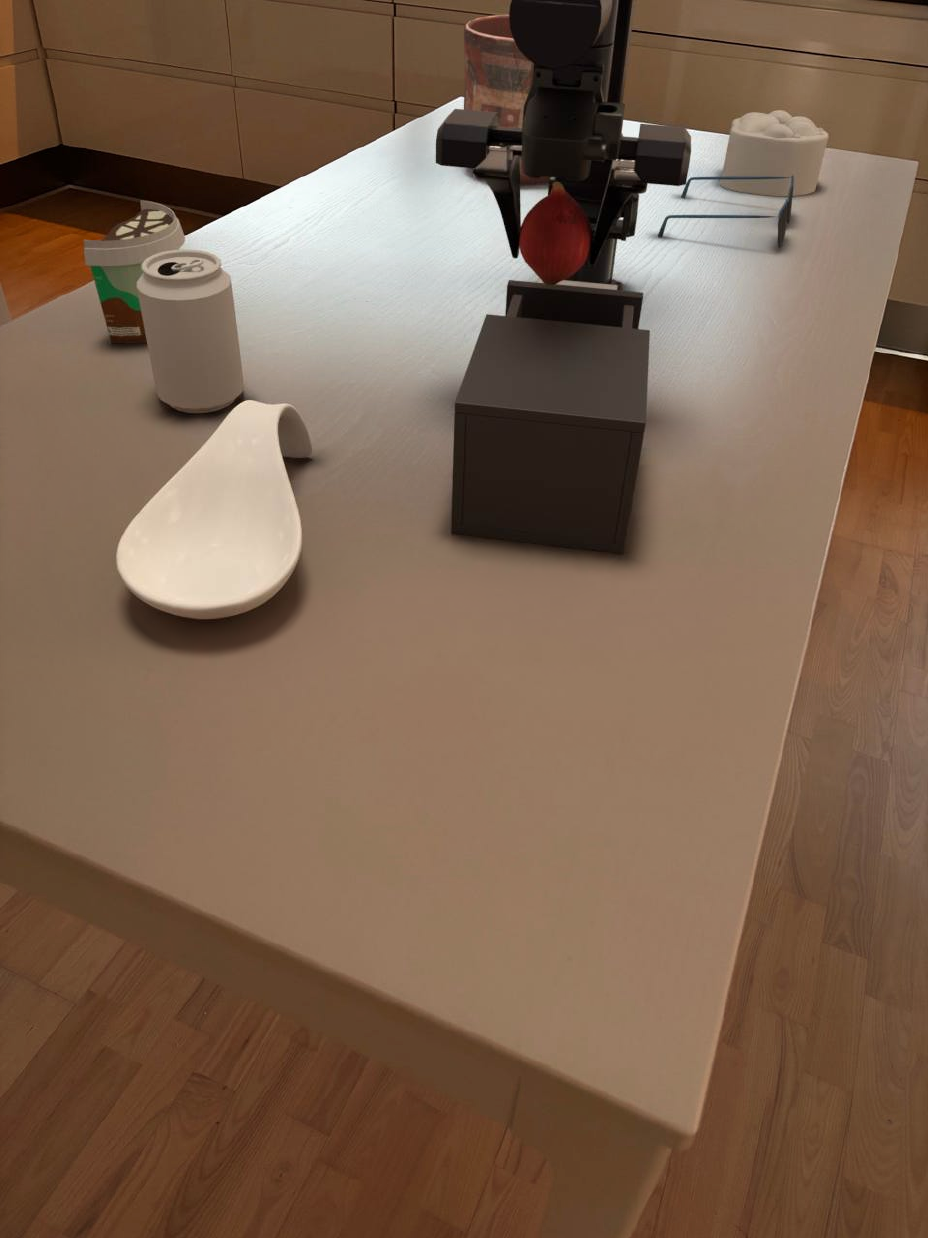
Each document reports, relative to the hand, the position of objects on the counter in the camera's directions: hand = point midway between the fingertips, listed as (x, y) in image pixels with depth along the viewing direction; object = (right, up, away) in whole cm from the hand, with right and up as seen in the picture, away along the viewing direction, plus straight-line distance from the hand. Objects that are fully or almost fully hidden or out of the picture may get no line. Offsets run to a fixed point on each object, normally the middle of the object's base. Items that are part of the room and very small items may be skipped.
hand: (553, 260), depth 80 cm
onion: (0, -2, +1) cm, 2 cm away
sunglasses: (+26, +21, +46) cm, 57 cm away
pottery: (+1, +34, +60) cm, 69 cm away
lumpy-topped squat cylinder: (+36, +32, +59) cm, 76 cm away
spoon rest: (-23, -23, -9) cm, 34 cm away
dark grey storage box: (-1, -19, -3) cm, 19 cm away
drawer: (+1, -11, +6) cm, 12 cm away
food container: (-37, 0, +18) cm, 41 cm away
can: (-30, -10, +7) cm, 32 cm away
